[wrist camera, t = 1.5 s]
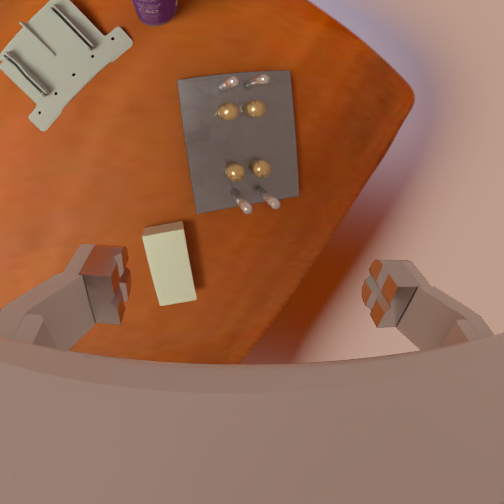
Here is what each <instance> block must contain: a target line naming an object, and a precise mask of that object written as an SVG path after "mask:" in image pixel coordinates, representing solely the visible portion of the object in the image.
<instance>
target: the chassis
mask: <svg viewBox="0 0 504 504" xmlns="http://www.w3.org/2000/svg"><path fill="white" fill-rule="evenodd" d="M177 84H178V92H179V100H180V108H181V116H182V123H183V131H184V138H185V145H186V151H187V158H188V165H189V171H190V178H191V184H192V190H193V196H194V202H195V208H196V213H197V214H199V213H205V212H210V211H215V210H221V209H226V208H232V207H237V206H240V208H241V209H242V211H243V212H244V213H245V214H250V213H251V212H252V210H253V208H252V206H251V205H250V204H254V203H260V202H267V203H268V204H269V205H270V206H271V207H272V208H273V209H278V208H279V207H280V205H281V204H280V201H278V200H279V199H285V198H291V197H298V196H299V182H298V164H297V149H296V134H295V121H294V109H293V98H292V87H291V76H290V71H259V72H243V73H231V74H220V75H211V76H203V77H196V78H189V79H182V80H177Z"/></svg>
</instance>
